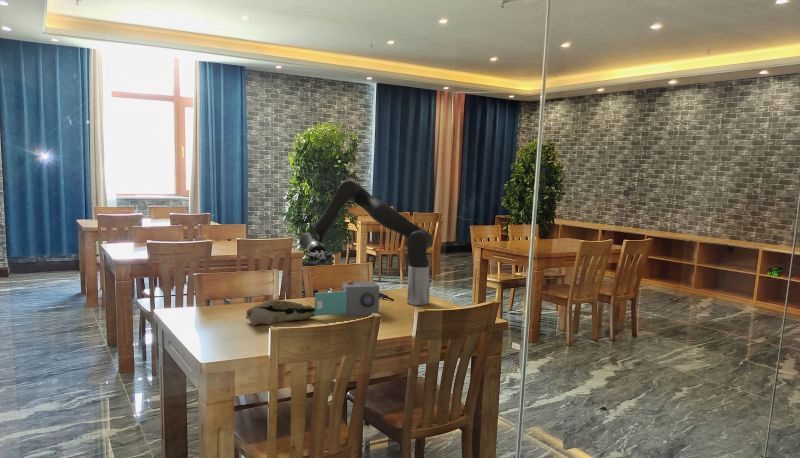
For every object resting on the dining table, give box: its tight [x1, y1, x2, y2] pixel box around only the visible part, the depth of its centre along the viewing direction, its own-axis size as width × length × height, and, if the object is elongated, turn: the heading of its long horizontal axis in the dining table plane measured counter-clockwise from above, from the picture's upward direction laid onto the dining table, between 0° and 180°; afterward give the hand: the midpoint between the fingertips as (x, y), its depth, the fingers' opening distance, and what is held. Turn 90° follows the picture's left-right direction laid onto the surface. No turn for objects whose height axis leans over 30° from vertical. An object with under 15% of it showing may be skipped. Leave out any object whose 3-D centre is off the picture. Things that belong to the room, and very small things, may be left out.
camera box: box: [341, 280, 380, 317], centre depth 229 cm, size 14×12×13 cm
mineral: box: [245, 299, 316, 327], centre depth 213 cm, size 26×9×10 cm
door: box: [314, 290, 347, 317], centre depth 220 cm, size 2×13×9 cm, turn 116°
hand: (323, 261), depth 233 cm, fingers closed
